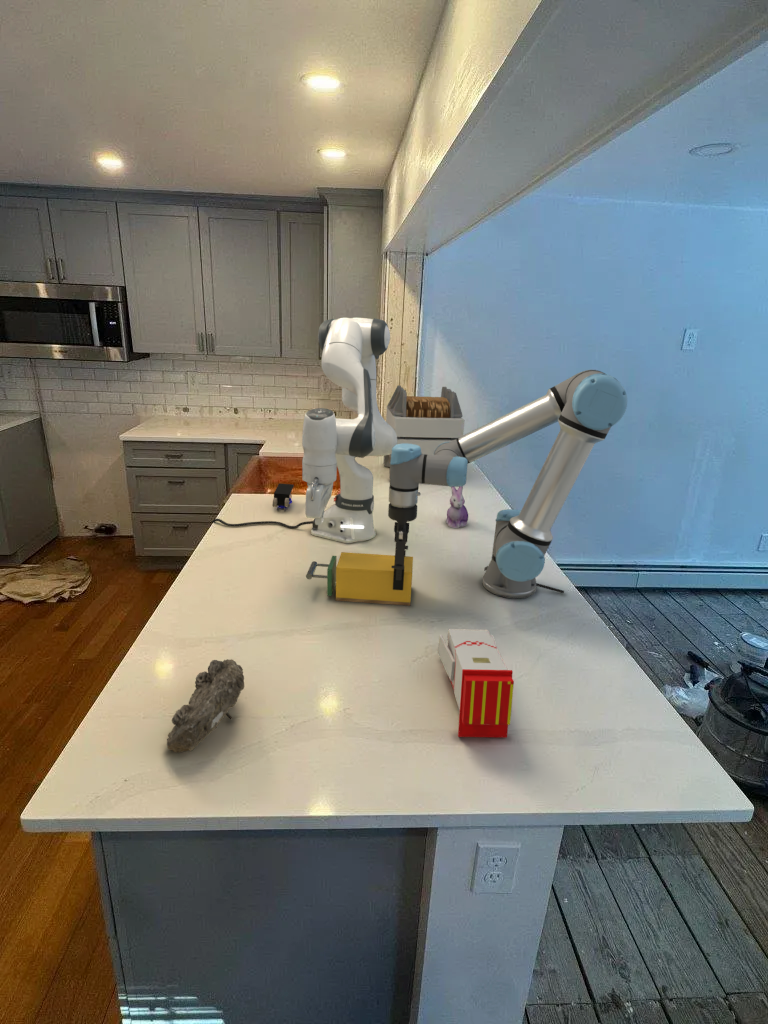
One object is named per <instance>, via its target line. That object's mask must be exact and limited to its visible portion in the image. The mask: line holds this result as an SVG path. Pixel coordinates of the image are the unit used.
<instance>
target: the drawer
mask: <svg viewBox="0 0 768 1024" xmlns="http://www.w3.org/2000/svg"><path fill="white" fill-rule="evenodd" d="M337 557H338V556H337V555H331V558H330V560H329V563H318V562H317V561H316V560H312V562H311V564H310V566H309V567H308V570H307V572H306V574H305V578H306V579H307V580H311V579H314V578H315V579H326V583H327V585H326V595H327V596H329V597H332V596H333V592H334V589H335V588H336V567H337V564H338V561H337V560H338V559H337ZM317 567H322V568H323V567H325V568H327V570H326V571H327V572H326V573H327V575H326V574H325V575H324V574H315V572H316V569H317Z"/></svg>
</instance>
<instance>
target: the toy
mask: <svg viewBox="0 0 768 1024" xmlns="http://www.w3.org/2000/svg"><path fill="white" fill-rule="evenodd" d="M446 640H447V643H446V641H445V639H444V636H443V635H442V634H439V637H438V646H437V656H438V657H439V659H440V661H441V663H442V666H443V668H444V670H445V672H446V674H447V677H448V679H449V681H450V684H451V687H452V690H453V693H454V697H455V701H456V705H457V708H458V711H459V714H458V715H459V716H458V730H457V731H458V732H457V737H458V738H508V731H509V726H510V725H511V717H512V707H513V697H514V696H513V695H514V684H515V680H514V679H513V673H514V671H513V670H512V669H508V667H507V665H506V662H505V661H504V659H503V658H502V655H501V653H500V651H499V649H498V647H497V643H496V639H495V637H494V635H493V634H491V632H490V631H489V629H467V628H466V629H465V628H463V629H461V628H460V629H459V628H448V630H447V639H446Z"/></svg>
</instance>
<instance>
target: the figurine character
mask: <svg viewBox="0 0 768 1024" xmlns="http://www.w3.org/2000/svg"><path fill="white" fill-rule="evenodd" d="M294 487H295V485H294V484H292V483H278V484H277V486H276V489H275V490H274V492H273V498H272V507H274V508H276V511H278V512H279V511H280V509H284V510H283V511H284V512H286V511H287V508H289V507H290V505H291V504H292V503H293V501H292V499H293V495H292V492H293V489H294Z"/></svg>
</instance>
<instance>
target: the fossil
mask: <svg viewBox="0 0 768 1024" xmlns="http://www.w3.org/2000/svg"><path fill="white" fill-rule="evenodd" d="M243 670H244V669H243V667H242V665H240V664H237V662H236V661H235V660H234V659H232V658H231V659H227V658H226V659H224V660H223V661H222V660H217V659H212V660H211V661H210V663H209V665H208V666H207V671H201V672H199V673H198V674H197V675H196V676H195V680H194V684H195V685H194V687H195V689H194V690H193V693H192V694H191V697H190V698H189V700H188V704H184V705H182V706H181V707H180V709H177V710H176V711H175V713H174V715H173V716H172V718H171V723H172V724H173V727H172V730H171V731H170V732H168V734H167V738H166V741H167V742H166V745H167V749H168V750H169V751H173V752H174V753H176V754H178V753H182V752H188V751H189V752H192V751H193V750H195V748H196V747H197V746H199V744H200V743H201V742H203V741H204V740H205V739H206V738H207V737H208V736H209V735H210V734H211V733H212V732H214V730H215V729H217V727H218V726H219V724H220V722H221V721H222V720H223V719H224V718H225V716H226V717H227V719H229V720H233V717H232V715H230V714H229V710H230V709H231V708H234V706H235V704H236V703H237V702H238V699H239V697H240V695H241V693H242V691H243V690H245V689H244V688H245V675H244V671H243Z"/></svg>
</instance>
